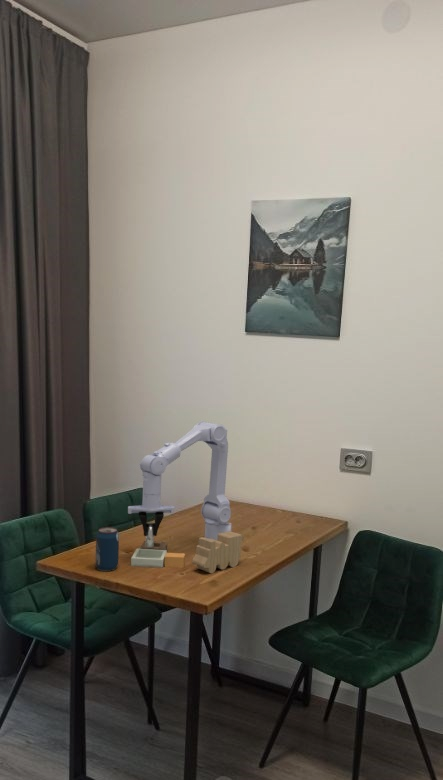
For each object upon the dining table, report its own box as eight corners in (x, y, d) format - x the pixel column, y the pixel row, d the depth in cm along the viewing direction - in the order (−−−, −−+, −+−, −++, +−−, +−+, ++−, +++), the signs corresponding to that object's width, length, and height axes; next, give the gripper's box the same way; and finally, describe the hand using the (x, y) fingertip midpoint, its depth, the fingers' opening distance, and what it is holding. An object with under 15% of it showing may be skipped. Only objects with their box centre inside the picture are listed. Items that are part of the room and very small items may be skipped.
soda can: (121, 566, 200) (123, 528, 200) (111, 573, 194) (112, 533, 193) (102, 563, 202) (103, 525, 202) (90, 569, 196) (92, 531, 195)
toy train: (191, 571, 199) (192, 539, 198) (230, 560, 211) (231, 530, 210) (203, 576, 195) (205, 543, 194) (242, 564, 207) (243, 534, 206)
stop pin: (153, 544, 207) (154, 522, 207) (154, 547, 204) (154, 524, 204) (145, 544, 207) (146, 522, 206) (145, 547, 204) (146, 524, 204)
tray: (166, 557, 210) (167, 550, 210) (162, 567, 200) (163, 559, 200) (136, 556, 211) (136, 548, 211) (130, 566, 201) (131, 558, 201)
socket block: (167, 549, 219) (167, 542, 219) (164, 556, 211) (164, 549, 211) (143, 548, 220) (144, 540, 220) (139, 555, 212) (140, 547, 212)
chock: (184, 564, 205) (185, 553, 205) (183, 568, 201) (183, 557, 201) (166, 563, 205) (166, 552, 205) (164, 567, 201) (164, 556, 201)
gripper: (172, 490, 210) (171, 531, 210) (128, 490, 207) (126, 532, 208) (175, 495, 203) (173, 537, 204) (129, 495, 200) (127, 538, 201)
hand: (150, 535), depth 205 cm, fingers closed on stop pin, 3 cm apart
